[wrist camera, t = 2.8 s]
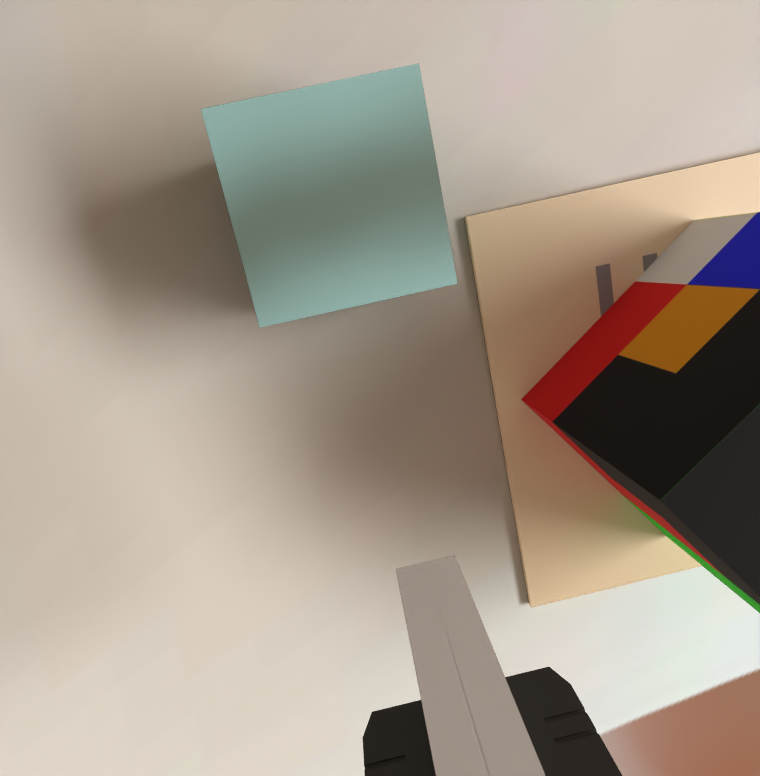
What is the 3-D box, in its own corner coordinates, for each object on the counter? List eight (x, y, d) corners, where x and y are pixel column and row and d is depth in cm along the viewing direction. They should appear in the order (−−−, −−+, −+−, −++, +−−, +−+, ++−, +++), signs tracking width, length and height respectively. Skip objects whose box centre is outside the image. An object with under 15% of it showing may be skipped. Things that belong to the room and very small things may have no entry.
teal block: (239, 153, 20) (200, 109, 14) (394, 120, 20) (418, 63, 14) (280, 310, 22) (259, 327, 16) (424, 278, 22) (457, 283, 16)
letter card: (464, 217, 21) (466, 216, 21) (846, 133, 22) (853, 131, 21) (529, 603, 26) (531, 607, 25) (846, 526, 26) (852, 529, 26)
